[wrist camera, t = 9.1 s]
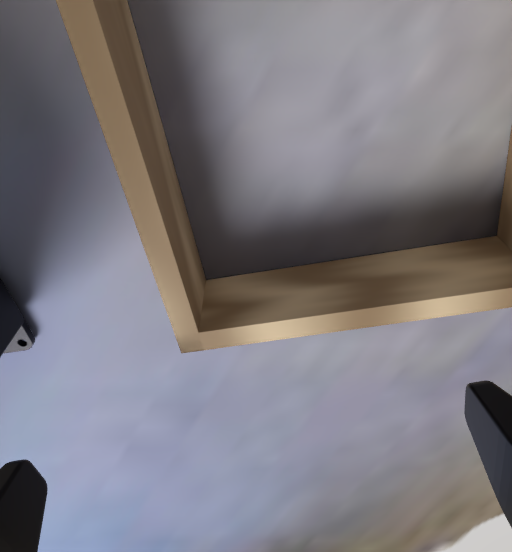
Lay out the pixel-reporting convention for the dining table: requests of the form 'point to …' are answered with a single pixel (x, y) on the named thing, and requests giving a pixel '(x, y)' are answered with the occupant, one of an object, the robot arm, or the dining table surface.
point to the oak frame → (274, 283)
